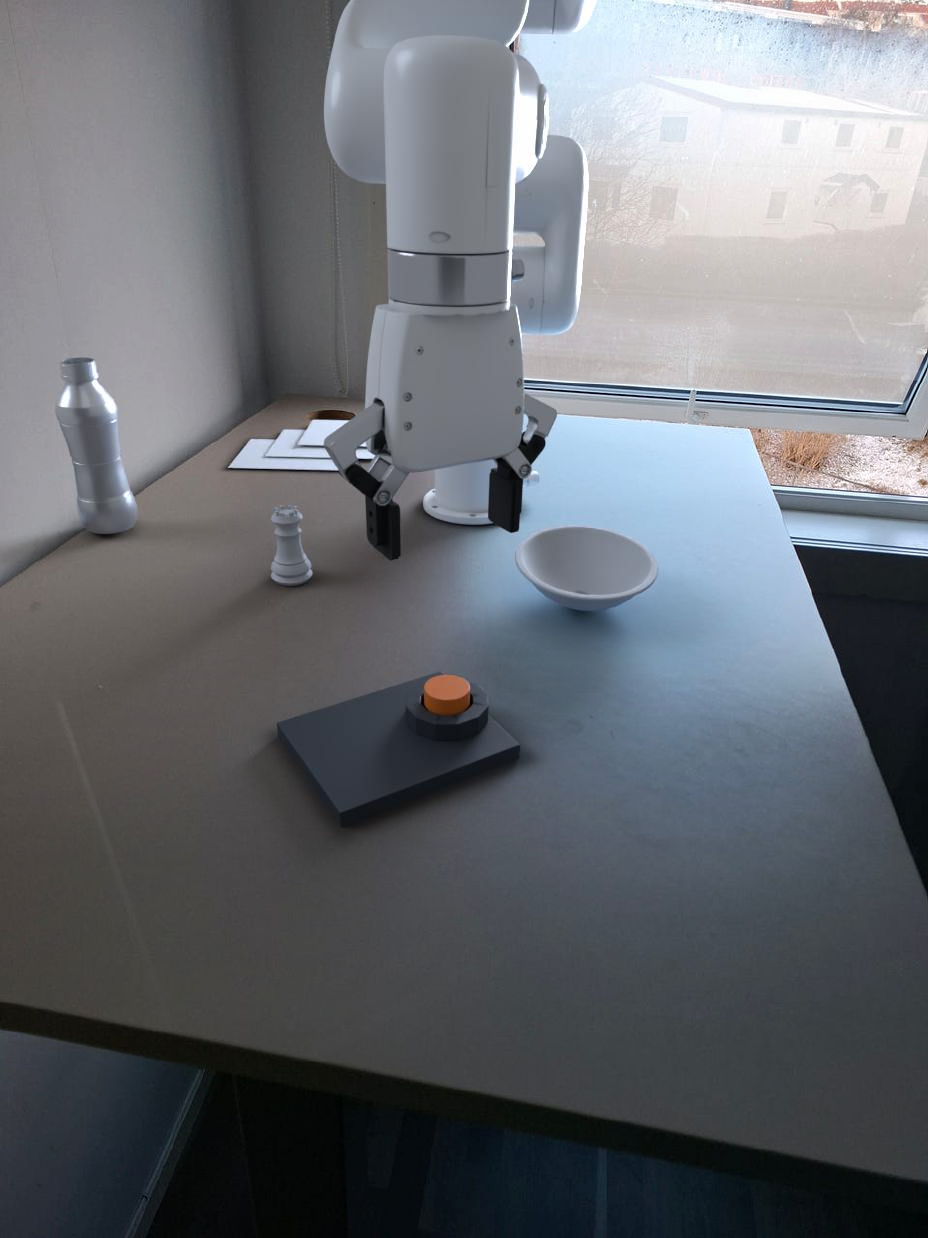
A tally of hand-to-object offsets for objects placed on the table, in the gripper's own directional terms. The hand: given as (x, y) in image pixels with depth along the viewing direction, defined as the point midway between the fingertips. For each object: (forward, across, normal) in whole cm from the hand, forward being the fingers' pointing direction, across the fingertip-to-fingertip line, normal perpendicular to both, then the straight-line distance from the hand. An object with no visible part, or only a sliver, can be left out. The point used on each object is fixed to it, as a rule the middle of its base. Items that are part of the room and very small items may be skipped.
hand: (446, 539), depth 60 cm
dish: (+17, -24, -12) cm, 31 cm away
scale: (+17, +4, 0) cm, 17 cm away
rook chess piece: (+17, 0, -32) cm, 36 cm away
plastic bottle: (+17, +14, -55) cm, 59 cm away
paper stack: (+16, -21, -73) cm, 78 cm away
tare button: (+14, 0, 0) cm, 14 cm away
